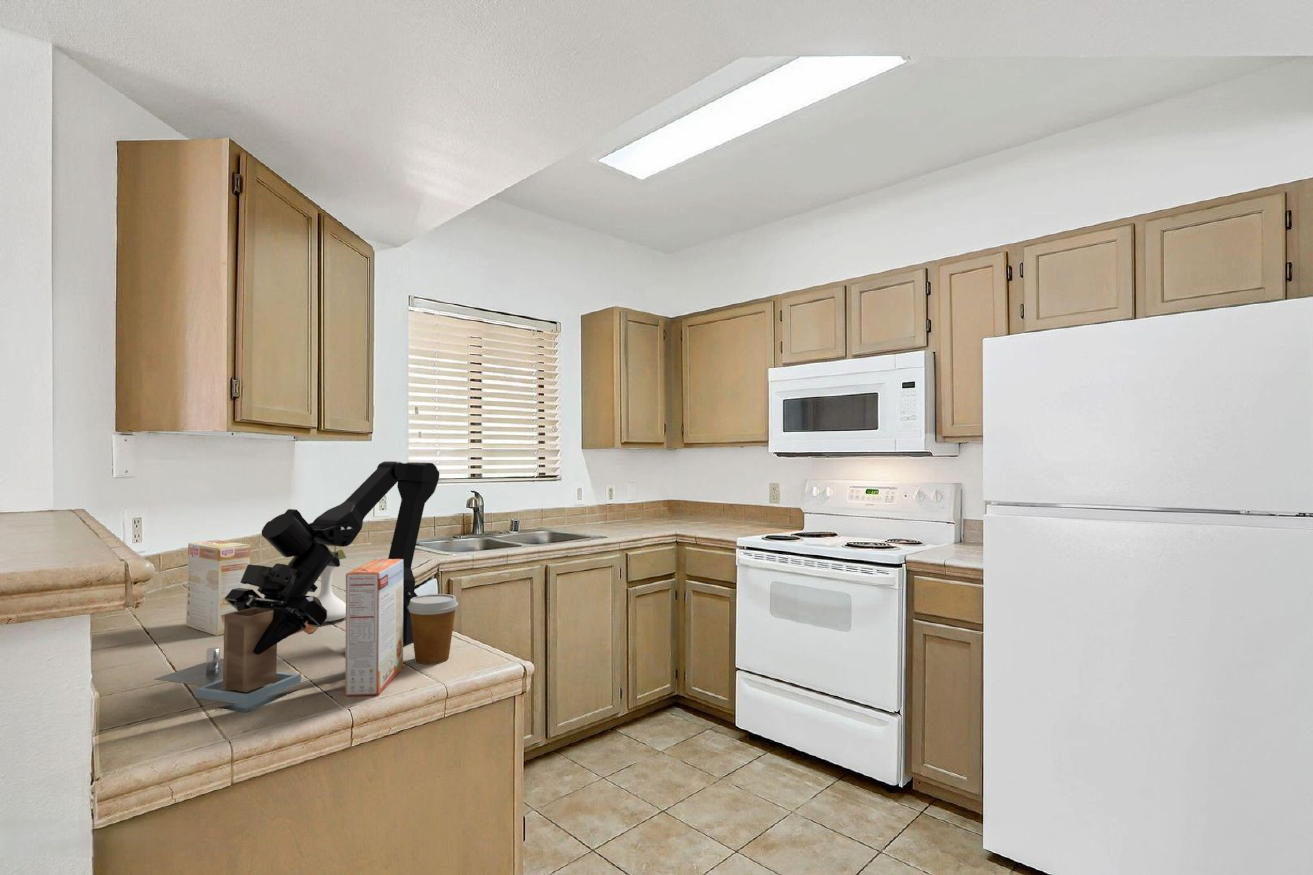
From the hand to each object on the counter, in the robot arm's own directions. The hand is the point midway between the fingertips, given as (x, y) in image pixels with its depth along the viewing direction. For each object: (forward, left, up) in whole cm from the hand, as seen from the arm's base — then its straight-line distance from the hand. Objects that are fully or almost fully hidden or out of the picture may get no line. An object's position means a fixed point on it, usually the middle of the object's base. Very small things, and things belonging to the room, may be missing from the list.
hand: (243, 651), depth 107 cm
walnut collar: (0, -1, -6) cm, 6 cm away
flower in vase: (+25, -45, -8) cm, 52 cm away
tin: (+21, -31, -8) cm, 39 cm away
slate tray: (0, -1, -8) cm, 8 cm away
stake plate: (+14, -6, -8) cm, 17 cm away
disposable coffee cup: (-17, -27, -8) cm, 33 cm away
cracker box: (-15, -13, -8) cm, 22 cm away
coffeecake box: (+44, -32, -8) cm, 55 cm away
